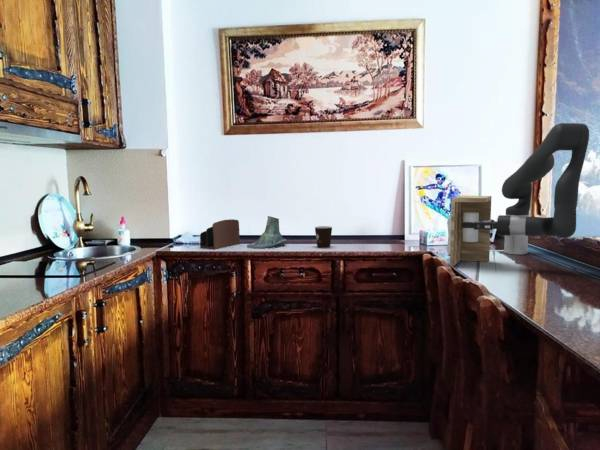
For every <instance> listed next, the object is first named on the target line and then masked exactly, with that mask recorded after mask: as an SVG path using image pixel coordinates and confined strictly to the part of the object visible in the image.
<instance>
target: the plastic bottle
mask: <svg viewBox="0 0 600 450" xmlns="http://www.w3.org/2000/svg"><path fill="white" fill-rule="evenodd" d="M446 222H447V223H446V224H447V231H448V232H447V235H448V237H447V245H446V253H447V254H448V255H449V256H450V244H451V215H450V216H449V217H448V219H447V221H446Z"/></svg>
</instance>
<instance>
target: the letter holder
mask: <svg viewBox="0 0 600 450" xmlns="http://www.w3.org/2000/svg"><path fill="white" fill-rule="evenodd" d="M199 235H200V236H199V237H200V238H199V244H200V245H199V247H200V249H203V250H204V249H205V250H219V249H223V248H228V247H233V246H237V245H240V244H241V240H240V239H241V238H240V221H239V220H238V219H233V218H232V219H230V218H229V219H224V220H222V219H221V220H219V221H216V222H213V224H212V226H210V227H208V228H206V230H204V231H202V232H201V233H200V234H199Z"/></svg>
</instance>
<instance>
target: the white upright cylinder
mask: <svg viewBox="0 0 600 450" xmlns="http://www.w3.org/2000/svg"><path fill="white" fill-rule="evenodd" d="M463 222H479V213H477V212H464V213H463ZM478 225H479V224H477V227H478ZM463 241H465V242H478V229H476V230H475V229H473V228H463Z"/></svg>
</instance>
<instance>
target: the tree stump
mask: <svg viewBox="0 0 600 450" xmlns="http://www.w3.org/2000/svg"><path fill="white" fill-rule="evenodd" d="M287 240H288V239H286V238H284V237H283V236H282V234H281V232H280V218H277V217H273V216H270V215H267V220H266V225H265V228H264V232H263V233H262V234H261V236H259V237H258V239H257V241H254V242H253V243H249V244H246V247H247V248H249V249H257V250H262V249H263V250H265V249H266V248H267V249H272V248H273V247H274V248H278V246H279V247H281V246H283V245H284V244H285V243H286V242H287ZM274 248H273V249H274Z"/></svg>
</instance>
